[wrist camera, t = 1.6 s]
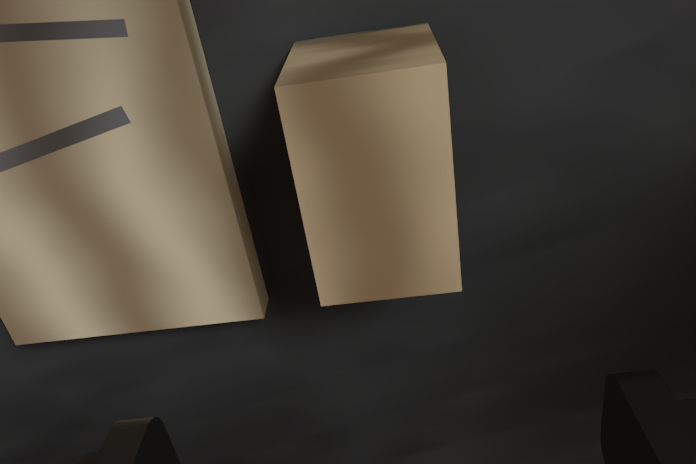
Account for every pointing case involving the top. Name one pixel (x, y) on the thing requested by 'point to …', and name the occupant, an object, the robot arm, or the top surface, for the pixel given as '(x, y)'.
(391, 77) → the block
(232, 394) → the top surface
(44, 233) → the board
